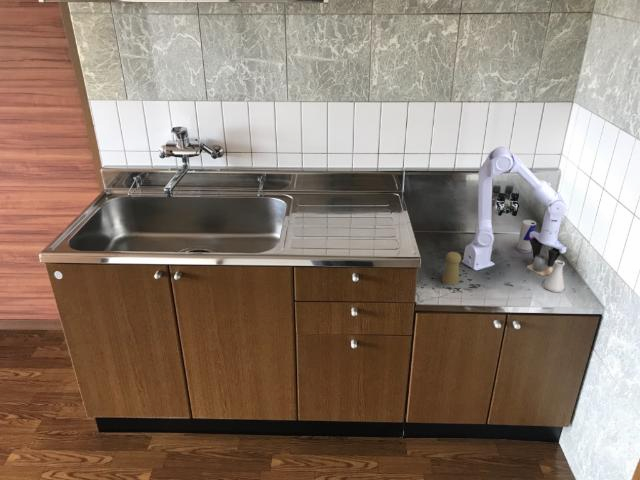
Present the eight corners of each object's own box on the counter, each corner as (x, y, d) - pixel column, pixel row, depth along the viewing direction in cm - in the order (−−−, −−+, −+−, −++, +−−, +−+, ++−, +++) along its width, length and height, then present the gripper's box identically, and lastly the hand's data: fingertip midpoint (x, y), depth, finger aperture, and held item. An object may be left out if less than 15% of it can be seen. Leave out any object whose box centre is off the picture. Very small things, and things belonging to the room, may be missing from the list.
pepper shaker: (459, 277, 185) (463, 251, 180) (458, 286, 180) (462, 259, 175) (442, 275, 187) (446, 248, 182) (440, 283, 182) (444, 256, 177)
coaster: (541, 276, 186) (542, 274, 186) (526, 267, 192) (527, 265, 191) (555, 271, 189) (555, 270, 189) (540, 263, 195) (540, 261, 194)
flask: (562, 295, 175) (569, 269, 171) (540, 289, 179) (546, 264, 174) (566, 285, 181) (572, 260, 176) (544, 279, 184) (550, 255, 179)
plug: (537, 272, 187) (540, 260, 185) (530, 268, 190) (532, 256, 188) (552, 267, 190) (555, 256, 188) (545, 263, 193) (547, 251, 191)
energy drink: (532, 253, 201) (538, 226, 196) (517, 252, 202) (523, 224, 197) (530, 247, 206) (535, 220, 200) (516, 246, 207) (521, 219, 201)
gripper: (575, 234, 179) (567, 268, 185) (542, 218, 190) (535, 251, 196) (561, 238, 176) (553, 272, 182) (528, 222, 187) (521, 255, 193)
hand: (542, 261), depth 189 cm, fingers open, 6 cm apart
